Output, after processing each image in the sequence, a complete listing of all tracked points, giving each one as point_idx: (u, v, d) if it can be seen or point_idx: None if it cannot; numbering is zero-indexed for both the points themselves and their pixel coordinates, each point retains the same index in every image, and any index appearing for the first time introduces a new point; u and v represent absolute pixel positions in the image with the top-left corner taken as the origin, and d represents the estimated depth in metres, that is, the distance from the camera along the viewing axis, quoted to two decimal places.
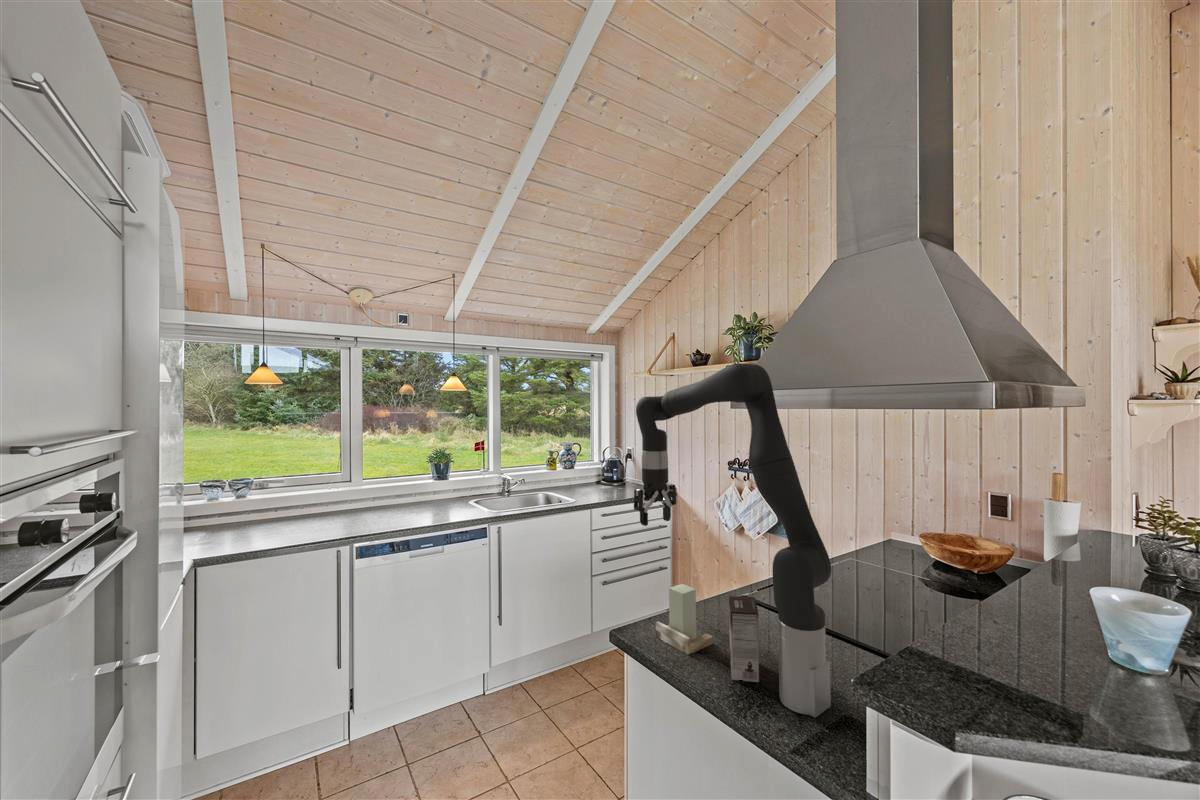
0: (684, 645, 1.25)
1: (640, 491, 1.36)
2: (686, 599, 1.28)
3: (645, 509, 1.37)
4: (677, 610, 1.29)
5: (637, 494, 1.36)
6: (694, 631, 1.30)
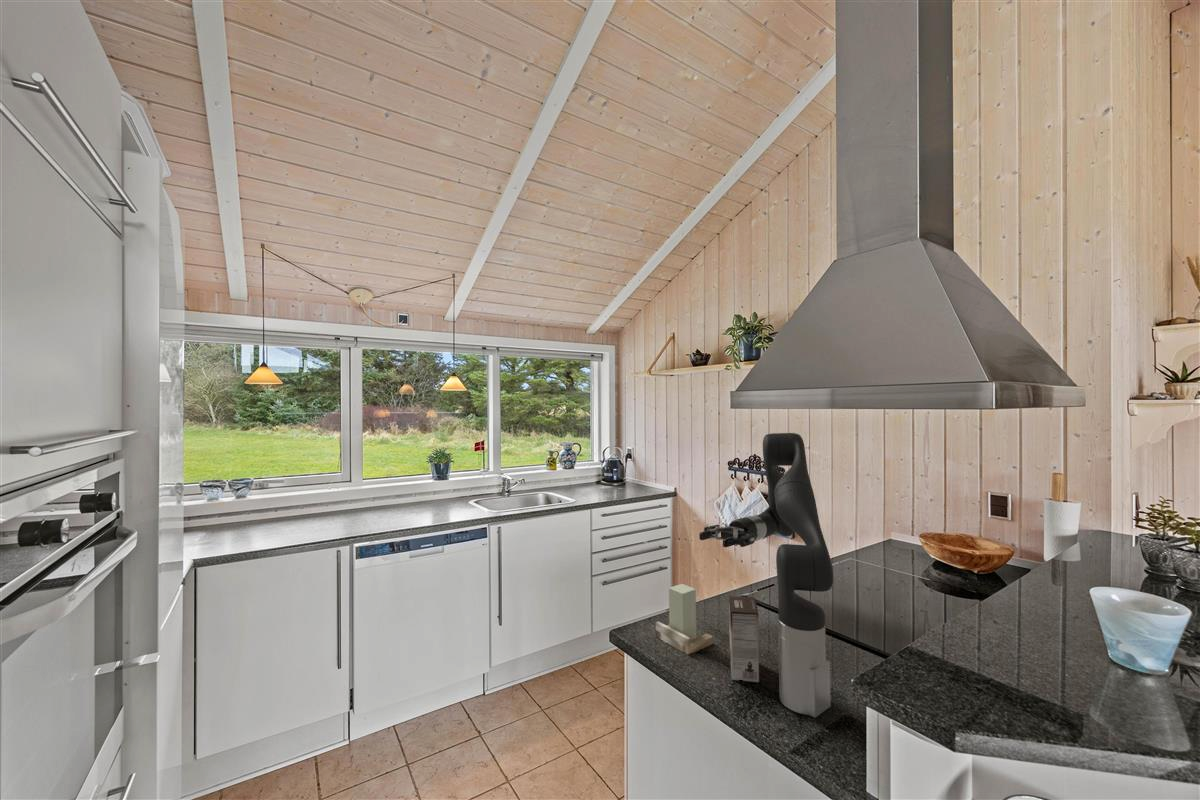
0: (684, 645, 1.25)
1: None
2: (686, 599, 1.28)
3: (709, 529, 1.45)
4: (677, 610, 1.29)
5: None
6: (694, 631, 1.30)
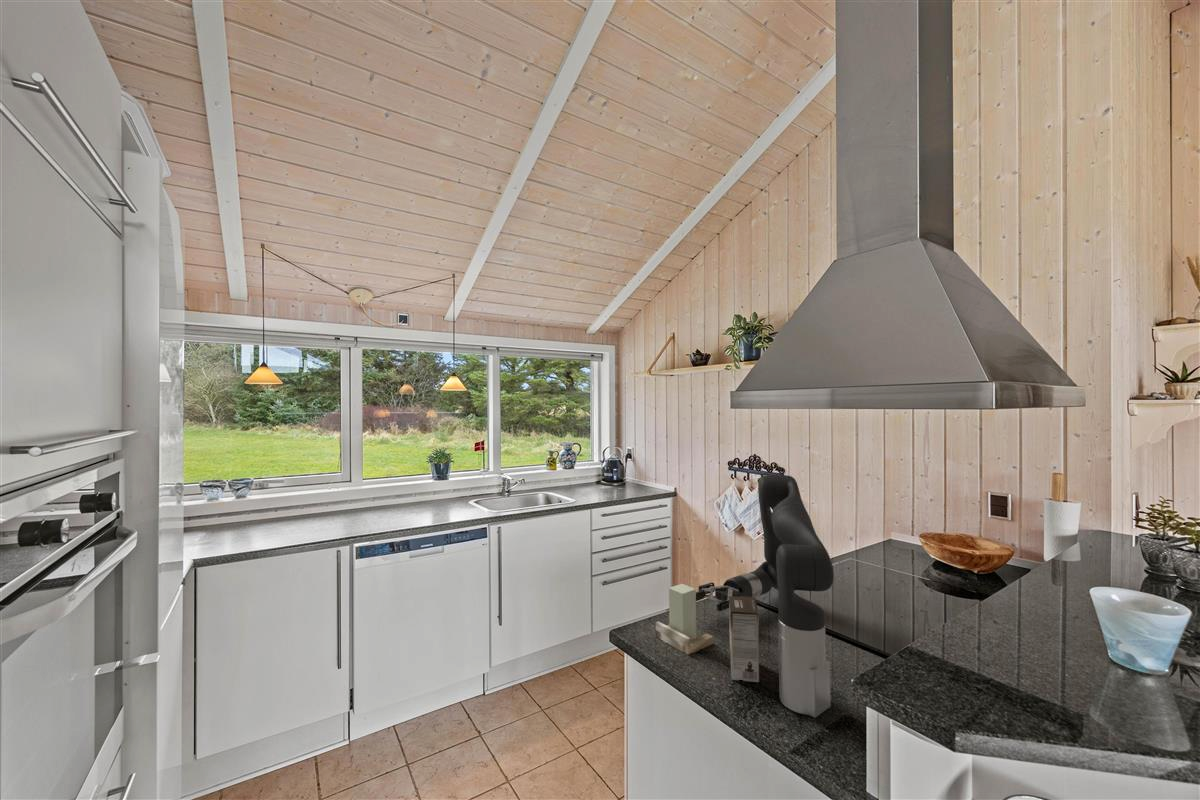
0: (684, 645, 1.25)
1: None
2: (686, 599, 1.28)
3: None
4: (677, 610, 1.29)
5: None
6: (694, 631, 1.30)
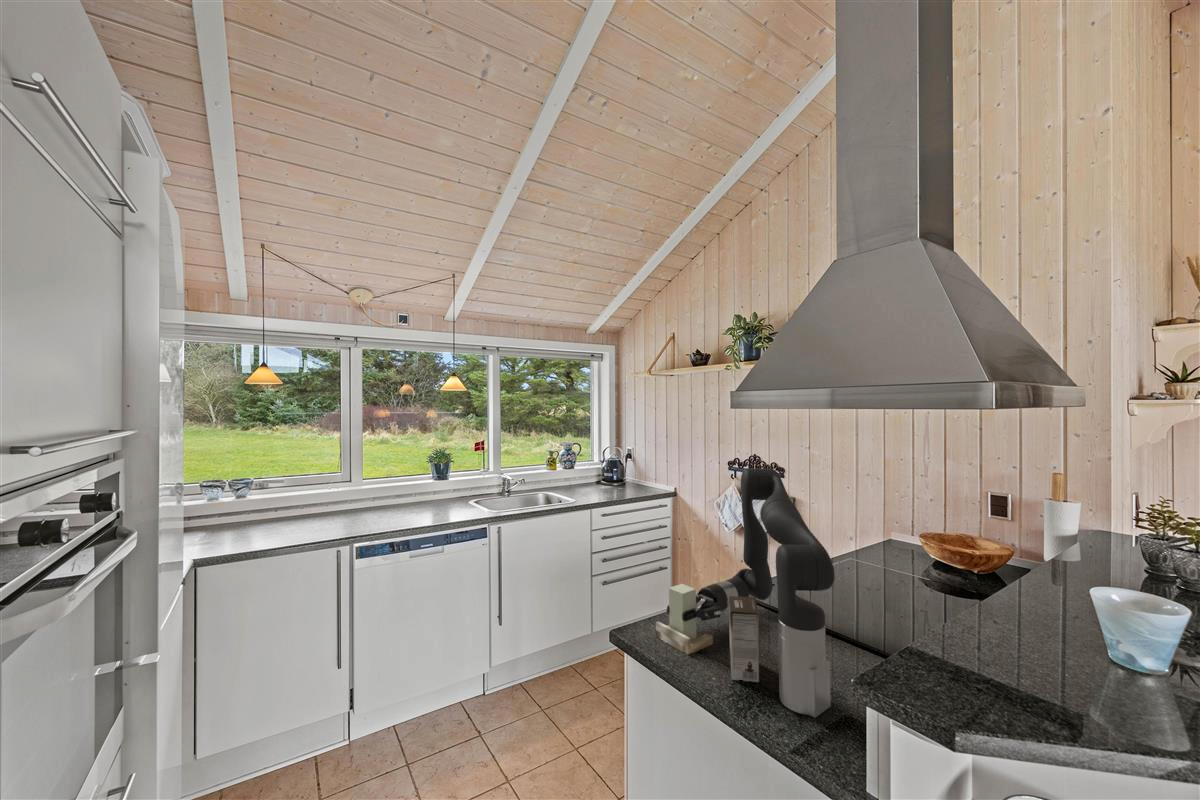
0: (684, 645, 1.25)
1: None
2: (686, 599, 1.28)
3: None
4: (677, 610, 1.29)
5: None
6: (694, 631, 1.30)
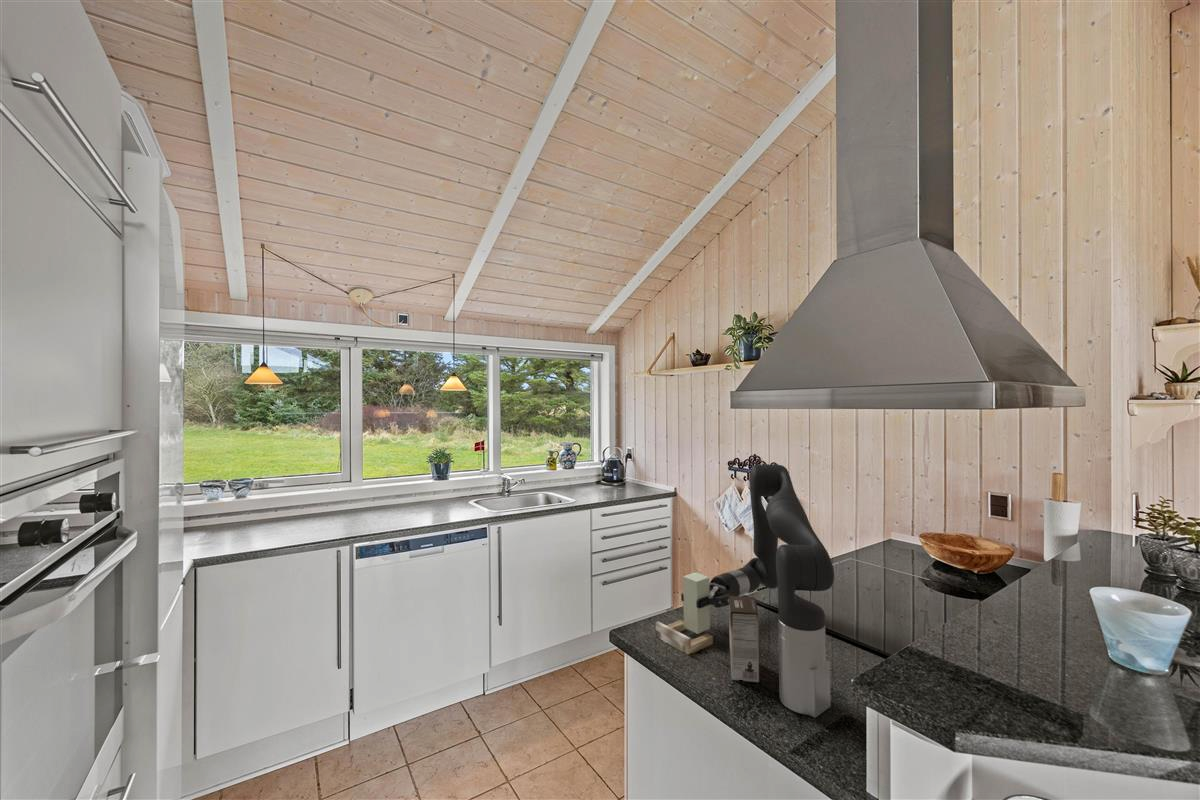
0: (684, 645, 1.25)
1: None
2: (700, 587, 1.32)
3: None
4: (691, 598, 1.32)
5: None
6: (708, 618, 1.34)
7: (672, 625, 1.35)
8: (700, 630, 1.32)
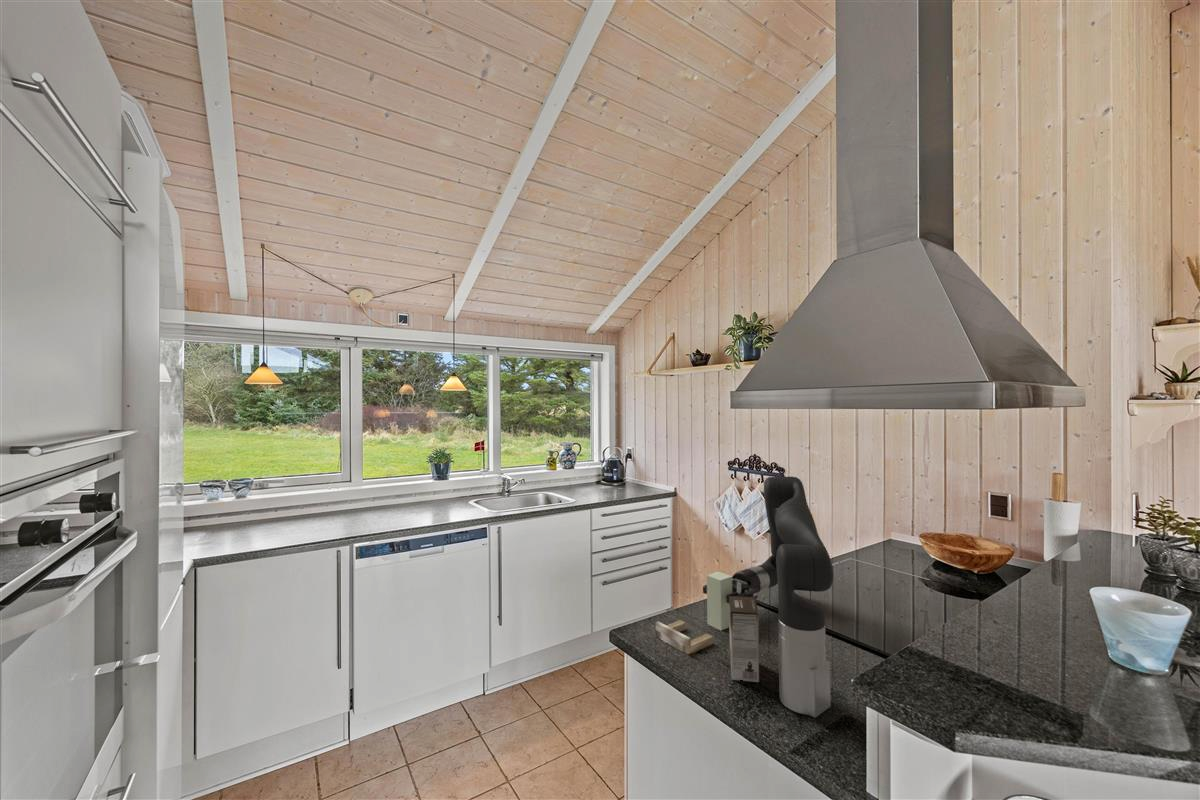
0: (684, 645, 1.25)
1: None
2: (723, 585, 1.37)
3: None
4: (715, 596, 1.38)
5: None
6: None
7: (672, 625, 1.35)
8: (723, 627, 1.37)
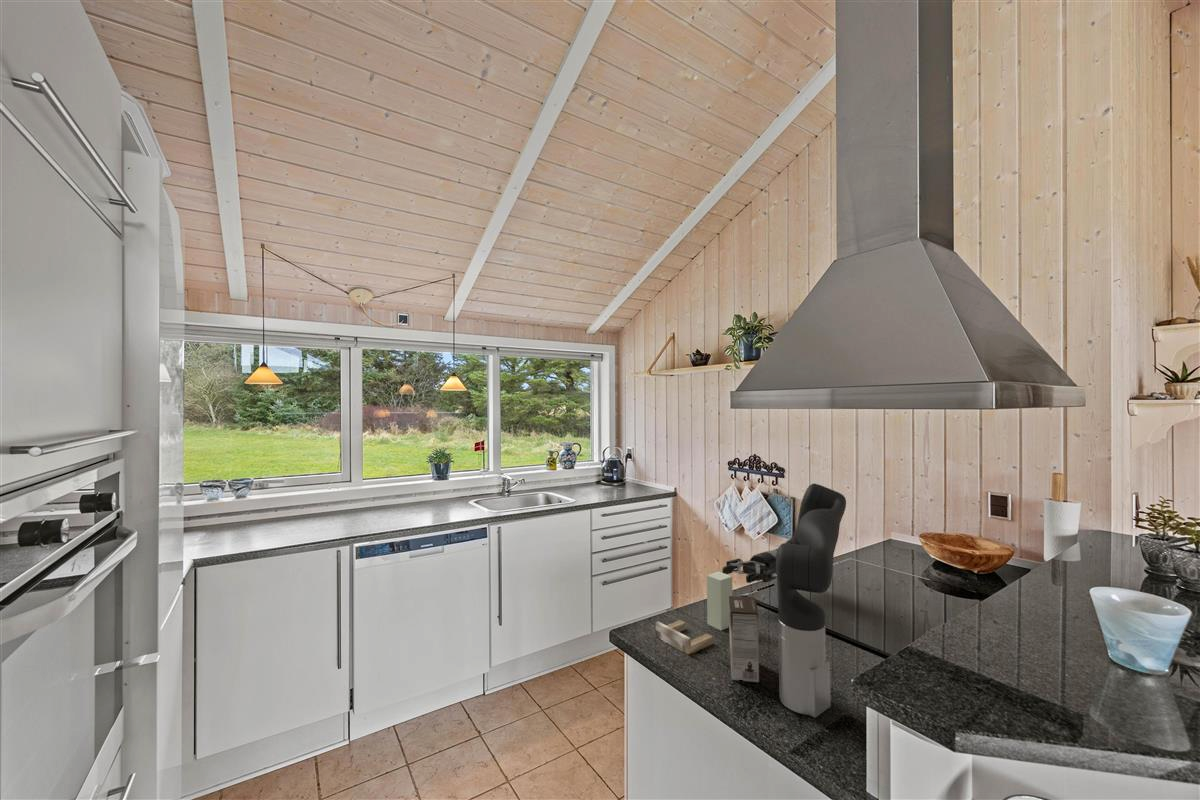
0: (684, 645, 1.25)
1: None
2: (723, 585, 1.37)
3: None
4: (715, 596, 1.38)
5: None
6: None
7: (672, 625, 1.35)
8: (723, 627, 1.37)
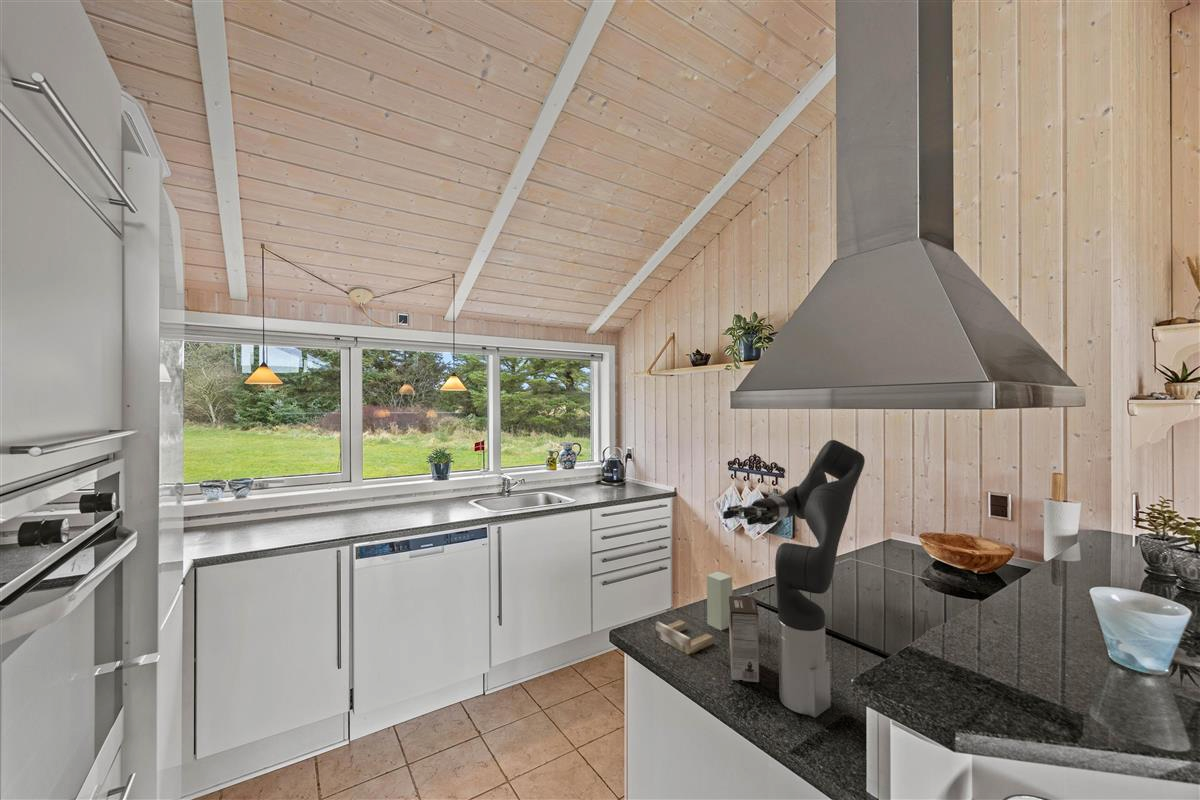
0: (684, 645, 1.25)
1: None
2: (723, 585, 1.37)
3: None
4: (715, 596, 1.38)
5: None
6: None
7: (672, 625, 1.35)
8: (723, 627, 1.37)
